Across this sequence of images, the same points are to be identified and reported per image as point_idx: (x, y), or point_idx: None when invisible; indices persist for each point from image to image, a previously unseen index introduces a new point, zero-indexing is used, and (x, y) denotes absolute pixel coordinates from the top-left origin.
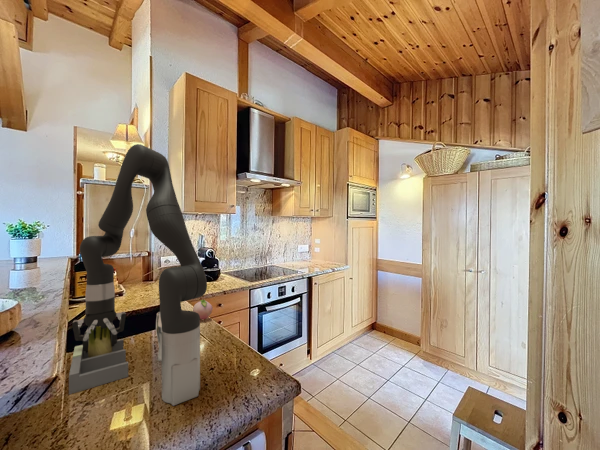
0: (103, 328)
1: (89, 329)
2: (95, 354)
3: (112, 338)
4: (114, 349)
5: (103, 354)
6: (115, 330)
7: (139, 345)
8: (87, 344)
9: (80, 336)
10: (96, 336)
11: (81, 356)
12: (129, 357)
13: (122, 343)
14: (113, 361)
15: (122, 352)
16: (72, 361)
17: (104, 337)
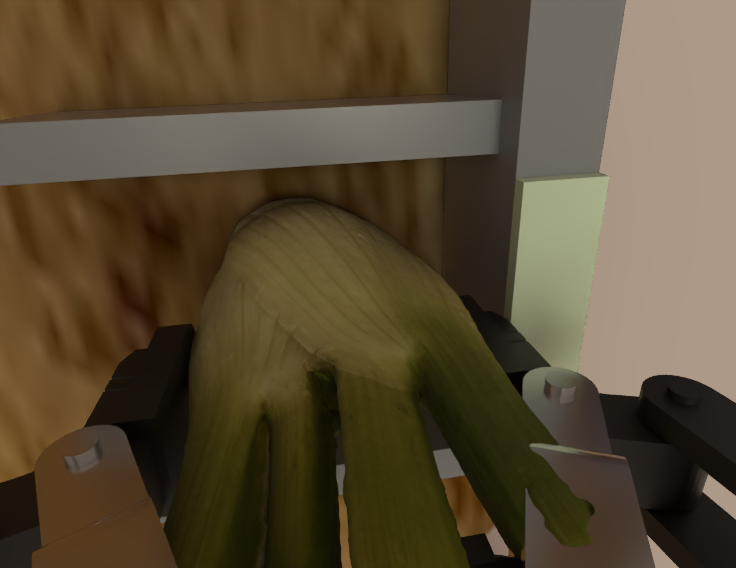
0: (293, 563)
1: (618, 525)
2: (362, 233)
3: (156, 387)
4: None
5: (270, 159)
6: (46, 496)
7: (2, 466)
8: (486, 342)
9: (657, 442)
10: (402, 405)
11: (510, 180)
12: (44, 234)
13: None
14: (167, 108)
15: (28, 122)
16: (614, 35)
17: (273, 406)
